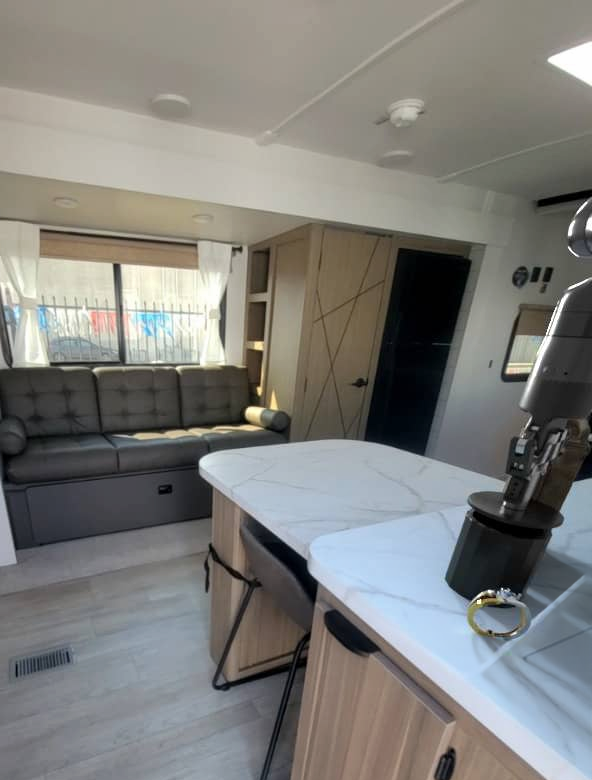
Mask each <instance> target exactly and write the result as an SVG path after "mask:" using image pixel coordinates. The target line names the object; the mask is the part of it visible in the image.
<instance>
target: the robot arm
mask: <svg viewBox="0 0 592 780" xmlns="http://www.w3.org/2000/svg"><path fill="white" fill-rule="evenodd" d="M566 244H567V247H568V249H569V251H570V252H571V253H572V254H574V255H575V256H576V257H578V258H581V259H585V260H586V259H587V260H592V196H591V197H589V198H588V199H587V200H586V201H585V202H584V203H583V204H582V205H581V207H580V208H579V209H578V210H577V211H576V213H575V215H573V217H572V219H571V221H570V223H569V225H568V229H567V233H566ZM526 380H527V381H526V383H525V386H524V389H523V391H522V394H521V397H520V400H519V403H518V405H517V406H518V409H519V410H520V411H522V412H524V413H529V415H530V417H531V418H530V417H529V419H528V421H527V423H526V425H524V426H523V427H522V428H521V431H520V433H519V436H516V435H514V436H512V438H511V439H510V440H509V441H510V442H509V447H508V453H507V459H506V466H505V472H504V473H505V474H506V475H510V476H511V478H510V481H509V483H508V486H507V489H506V491H505V494H504V497H503V500H504V501H506V502H509V503H512V504H515V505H519V504H521V503H522V502H523V499H524V497H525V494H526V492H527V489H528V487H529V484H530V482H531V480H532V479H533V477H534V474H535V472H536V469H537V468H539V469H541V473H540V475H542V476H543V475H544V474H545V473H546V469H550V468H551V467H552V466H553V463H554V461H555V459H556V458H557V456H558V454H559V452H560V451H561V449H562V447H563V445H564V444H565V442H566V440H567V438H568V436H570V434H571V430H570V429H565V427H566V424H567V420H568V419H582V418H586V419H587V418H588V417H589V416H590V415H591V413H592V275H591V276H589V277H588V278H587V279H584V280H582V281H579V282H576V283H574V284H572V285H569V286H568V287H567V288H566V289H565V290H564V291H563V292H562V293H561V296H560V297H559V299H558V302H557V304H556V307H555V310H554V312H553V314H552V317H551V321H550V323H549V326H548V329H547V332H546V335H545V337H544V339H543V341H542V344H541V346H540V347H539V349H538V351H537V353H536V355H535V358H534V360H533V363H532V366H531V369H530V372H529V375H528V378H527V379H526ZM549 452H550V453H549ZM521 464H522V465H523V469H522V468H519V467H520V465H521ZM540 477H541V476H539V478H538V481H537V483H536V485H535V488H534V490H533V493H532V495H531V497H530V499H531V498H532V497H533V494H534V492H535V489H536V487H537V485H538V482H539V480H540Z"/></svg>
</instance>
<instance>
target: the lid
mask: <svg viewBox="0 0 592 780" xmlns="http://www.w3.org/2000/svg"><path fill="white" fill-rule="evenodd" d="M519 468H522V469H523V465H520V467H519ZM540 473H541V469H539V468H537V469H536V472H535V474H534V477H533V479H532V480H531V482H530V484H529V487H528V489H527V492H526V494H525V497H524V499H523V502H522V503H521V504H519V505H515V504H512V503H509V502H506V501H504V500H503V497H504V494H505V493H503V492H502V491H493V490H482V491H475V492H472V493H470V494H469V495H468V497H467V500H466V502H467V504H468V506H469V507H470V508H471V509H472V508H473V509H474V510H476V511H477V512H479V513H481V514H483V515H485V516H487V517H490V518H492V519H495V520H498V521H501V522H504V523H508V524H512V525H516V526H521V527H527V528H536V529H551V528H552V529H557V528H559V527H561V526H562V525H563V524H564V522H565V516H564V515H563V514H562V513H561V512H559V511H558V510H556V509H554V508H553V507H551V506H549V505H547V504H544V503H542V502H539V501H537V500H534V499H530V497H531V495H532V493H533V490H534V488H535V485H536V483H537V481H538V478H539V476H540Z"/></svg>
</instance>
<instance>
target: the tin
mask: <svg viewBox="0 0 592 780" xmlns="http://www.w3.org/2000/svg"><path fill="white" fill-rule="evenodd" d="M552 531H553V530H552ZM552 531H551V529H536V528H527V527H521V526H516V525H512V524H508V523H504V522H501V521H498V520H495V519H492V518H490V517H487V516H485V515H483V514H481V513H479V512H477V511H476V510H474V509H473V508H472V507H471V508H470V509H467V510H466V514H465V517H464V519H463V522H462V526H461V528H460V531H459V533H458V537H457V540H456V543H455V545H454V549H453V550H452V551H453V552H452V554H451V556H450V560H449V563H448V566H447V569H446V572H445V576H444V580H445V582H446V584H447V585H448V587H449V588H450V589H451V590H453V591H454V592H455V593H456V594H458V595H459V596H461V597H463V598H465V599H466V600H469V601H470V602H471V601H472V600H473V599H474V598H475V597H476V596H477V595H479V594H480V593H482V592H484V591H487V590H491V589H496V588H501V587H503V588H504V589H507V588H510V591H511V592H513V593H514V594H515V595H516V596H518V594H521V597H520V598H519V599H520V600H521V601H522V602H523V600H524V598H525V597H526V594H527V591H528V589H529V588H530V585H531V582H532V581H533V578H534V577H535V574H536V572H537V570H538V567H539V565H540V564H541V562H542V559H543V557H544V555H545V552H546V550H547V548H548V546H549V544H550V542H551V540H552V537H553V532H552ZM490 598H496V599H497V597H491V596H489V597H487V598H485V599H490ZM486 607H488V608H495V609H503V610H505V609H506V610H507V609H512V608H518V606H516V605H512V604H507V603H500V604H493V605H487V606H486Z"/></svg>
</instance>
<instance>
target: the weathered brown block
mask: <svg viewBox="0 0 592 780" xmlns="http://www.w3.org/2000/svg"><path fill="white" fill-rule="evenodd" d="M530 418H531V416H530V417H529V419H530ZM565 429H570V430H571V434H570V436H568V438H567V440H566V442H565V444H564V445H563V447H562V449H561V451H560V452H559V454H558V456H557V458H556V459H555V461H554V463H553V466H552V467H551V468H550V469H546V473H545V474H544V475H543V476H542V475H540V476H541V477H540V480H539V482H538V485H537V487H536V489H535V492H534V494H533V497H532V498H531V499H534V500H537V501H539V502H542V503H544V504H547V505H549V506H551V507H553V508H554V509H556V510H558V511H559V512H560V511H561V509H562V507H563V505H564V503H565V502H566V499H567V497H568V495H569V494H570V491H571V489H572V487H573V485H574V484H573V483H574V481H575V480H576V478H577V476H578V474H579V471H580V469H581V467H582V465H583V463H584V461H585V459H586V457H588V456H589V454H590V453H591V450H592V444H590V443H589V442H588V440H589V437H590V435H591V432H592V430H591V426H590V424H589V421H588V419H587V417H586V418H582V419H568V420H567V424H566V427H565ZM549 453H550V452H549ZM521 465H522V464H521ZM510 478H511V476H510V475H509V474H507V478H506V481H505V484H504V486H503V489H502V491H501V492H503V493H505V491H506V489H507V486H508V483H509V481H510ZM560 513H561V512H560ZM551 531H553V528H551Z"/></svg>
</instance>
